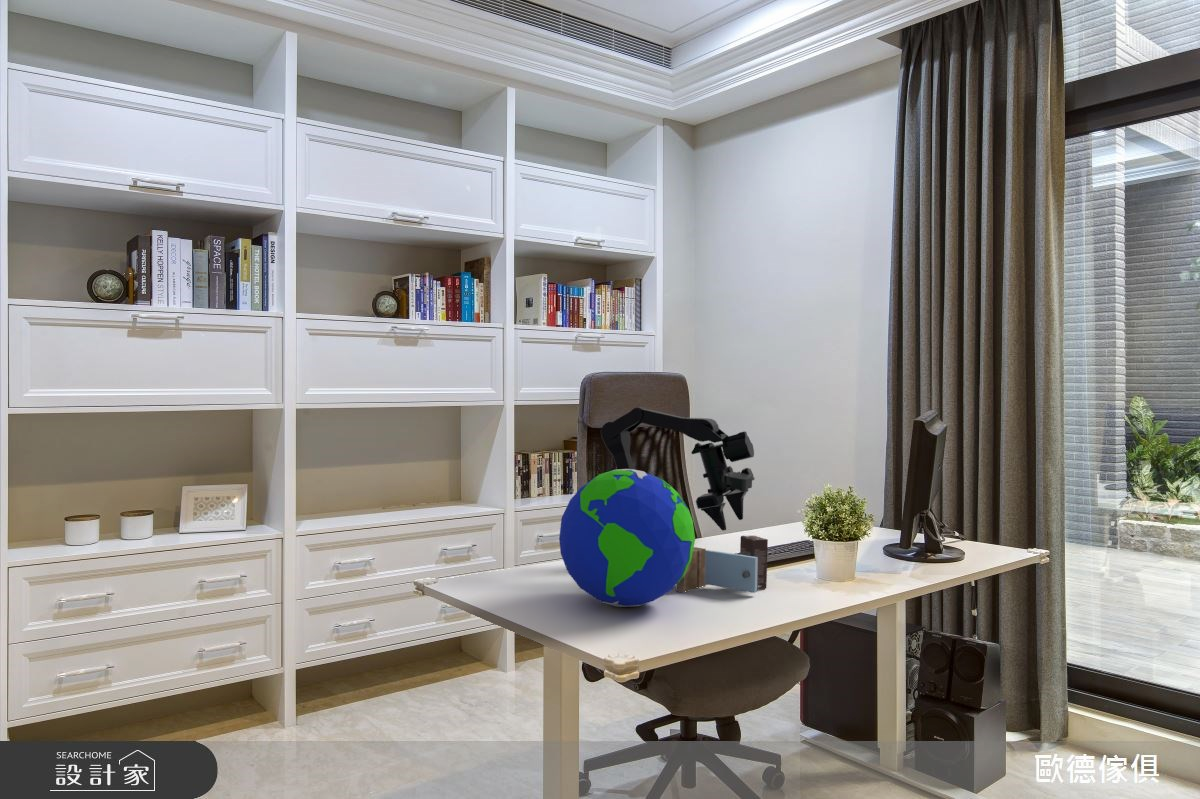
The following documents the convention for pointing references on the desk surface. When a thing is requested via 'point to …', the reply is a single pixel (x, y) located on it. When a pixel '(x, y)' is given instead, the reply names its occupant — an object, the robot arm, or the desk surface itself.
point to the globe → (626, 537)
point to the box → (756, 549)
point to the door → (731, 570)
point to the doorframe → (694, 572)
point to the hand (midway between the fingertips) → (732, 524)
